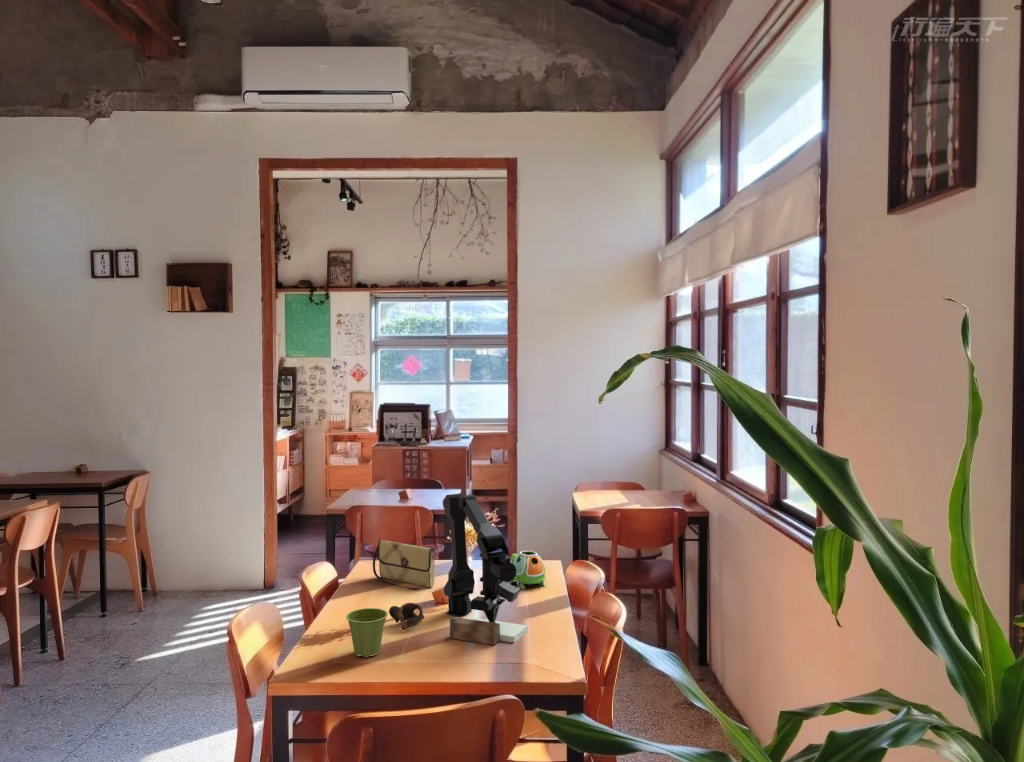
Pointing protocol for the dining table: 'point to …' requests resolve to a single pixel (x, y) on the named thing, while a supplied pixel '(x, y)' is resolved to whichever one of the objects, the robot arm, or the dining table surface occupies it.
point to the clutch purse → (405, 563)
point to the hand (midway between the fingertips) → (492, 624)
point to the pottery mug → (406, 615)
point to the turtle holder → (528, 568)
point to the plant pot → (367, 630)
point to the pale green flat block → (508, 630)
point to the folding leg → (474, 630)
